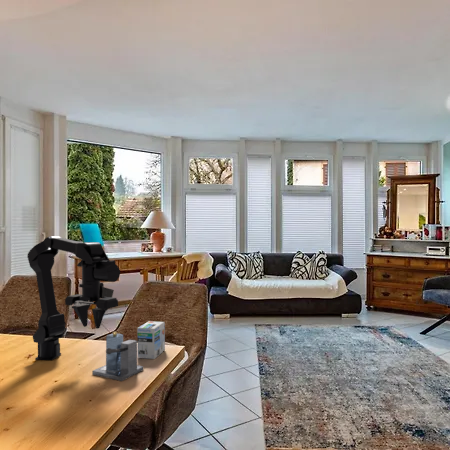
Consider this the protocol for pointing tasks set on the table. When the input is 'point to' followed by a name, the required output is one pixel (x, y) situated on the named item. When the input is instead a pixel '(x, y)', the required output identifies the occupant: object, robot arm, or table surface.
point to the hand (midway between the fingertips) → (91, 327)
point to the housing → (115, 358)
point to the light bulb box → (151, 339)
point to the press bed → (122, 362)
